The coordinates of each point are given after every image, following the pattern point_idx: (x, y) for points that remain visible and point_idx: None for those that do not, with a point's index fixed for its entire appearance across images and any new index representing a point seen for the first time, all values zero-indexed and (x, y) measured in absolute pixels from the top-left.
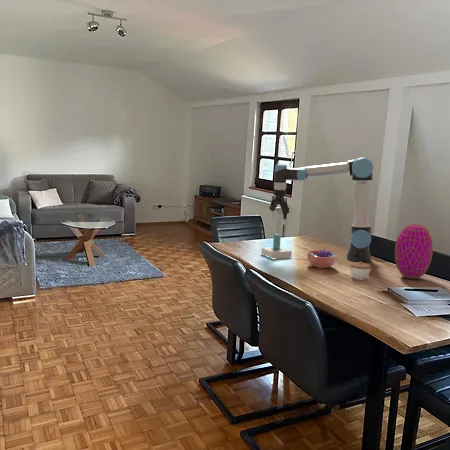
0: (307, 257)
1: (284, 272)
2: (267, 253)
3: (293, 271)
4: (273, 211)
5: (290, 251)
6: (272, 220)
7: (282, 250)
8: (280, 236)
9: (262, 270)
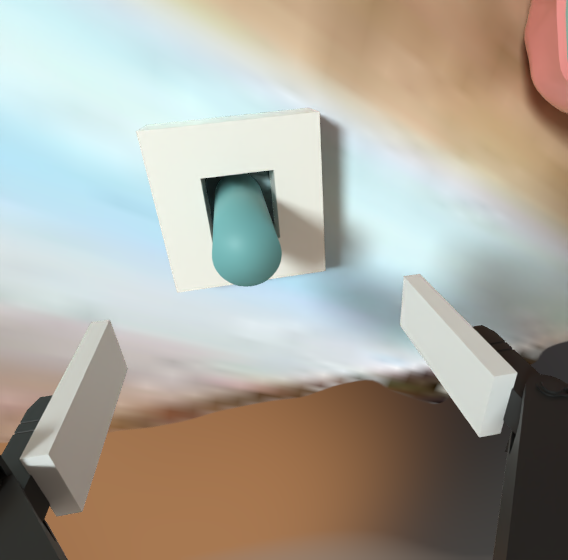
0: (562, 111)
1: (550, 283)
2: None
3: (560, 237)
4: (70, 480)
5: (319, 123)
6: (119, 361)
7: (286, 180)
8: (267, 224)
9: None
